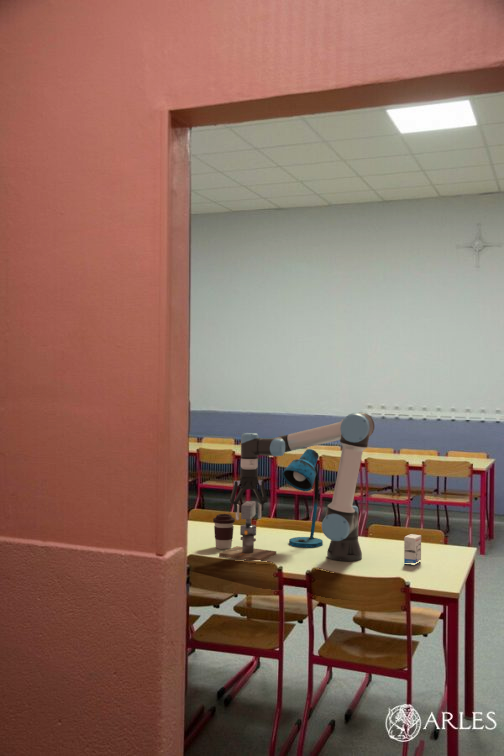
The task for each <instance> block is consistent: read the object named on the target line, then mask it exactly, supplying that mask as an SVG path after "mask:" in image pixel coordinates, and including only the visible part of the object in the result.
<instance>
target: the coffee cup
mask: <svg viewBox="0 0 504 756" xmlns="http://www.w3.org/2000/svg"><path fill="white" fill-rule="evenodd" d="M212 520H213V523H214V527H213V528H214V539H215V548H217V549H220V550H228V549H231V548H233V547H232V546H233V545H232V544H233V543H232V542H233V539H234V538H233V537H234V523H235V522H236V517H233V516H232V514H228V513H219V514H217V515H216V516H215V517H213V519H212Z"/></svg>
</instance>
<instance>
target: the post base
mask: <svg viewBox="0 0 504 756" xmlns="http://www.w3.org/2000/svg"><path fill="white" fill-rule="evenodd" d="M240 540H241V541H242V542H241V543H242V546H238V545H236V546H233V547H231V548H229V549H225V550H224V551H221V552H219V553H218V555H219V556H218V557H222V558H228V559H236V560H241V559H246V560H245V561H248V560H263V561H266V560H267V559H270V558H272V557H274V556H277V550H270V549H261V548H255V547H254V545H255V544H254V543H255V542H256V541H257V538H256V537H255V536H241V537H240Z"/></svg>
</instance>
